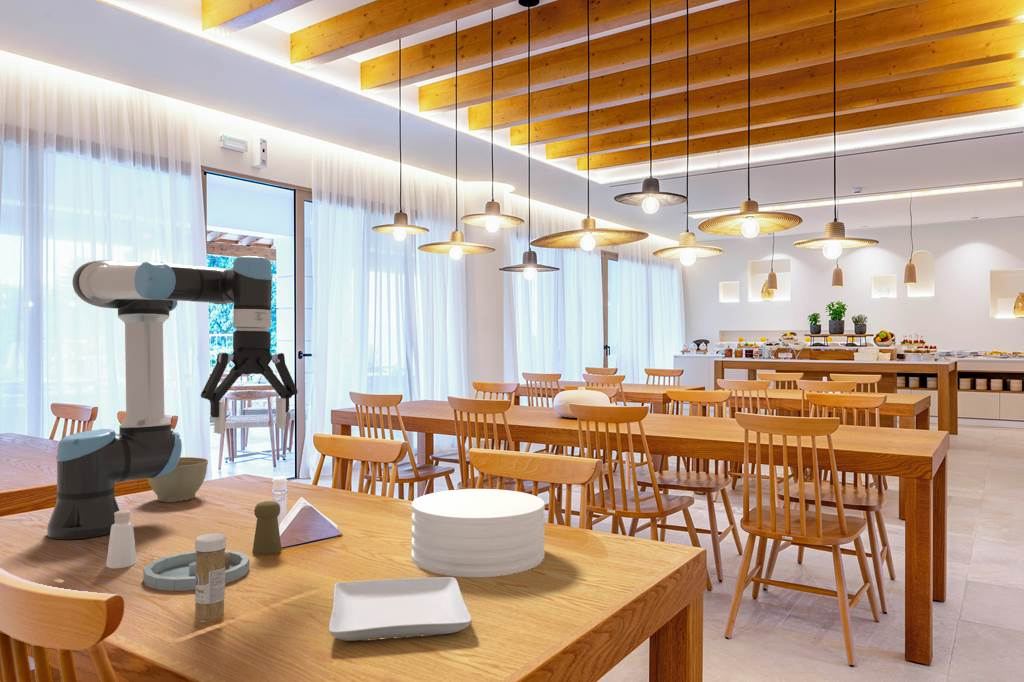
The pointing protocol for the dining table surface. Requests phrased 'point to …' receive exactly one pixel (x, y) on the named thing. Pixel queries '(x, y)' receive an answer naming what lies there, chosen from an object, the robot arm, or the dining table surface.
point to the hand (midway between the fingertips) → (250, 430)
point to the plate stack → (477, 532)
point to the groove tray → (188, 571)
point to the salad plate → (397, 608)
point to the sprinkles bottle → (210, 577)
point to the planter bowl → (180, 480)
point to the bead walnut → (227, 560)
